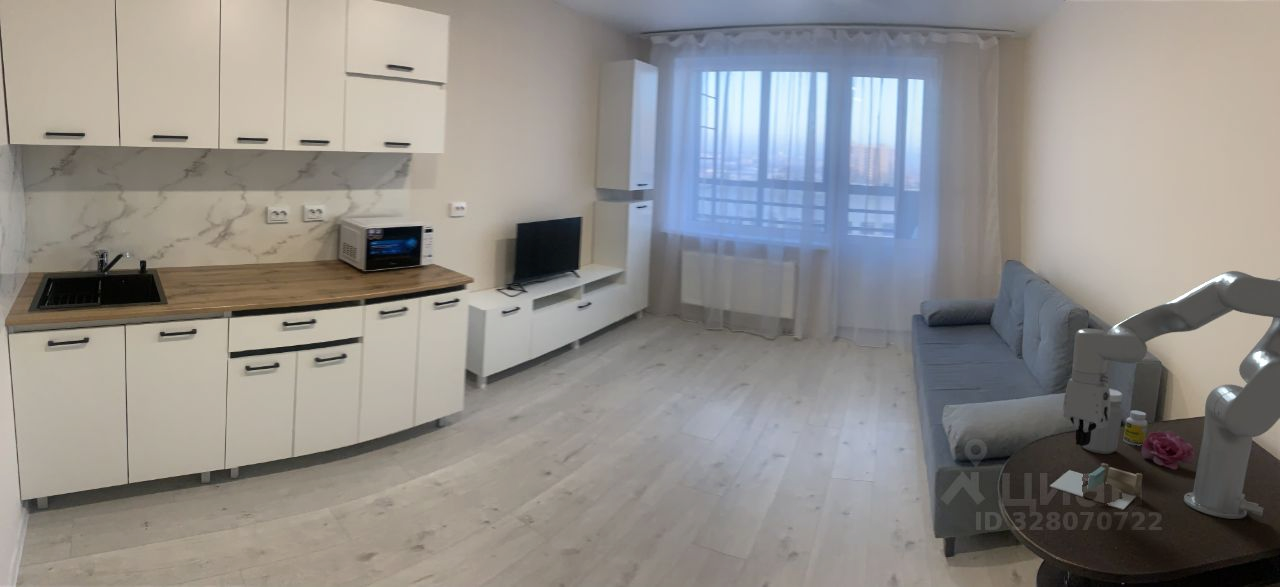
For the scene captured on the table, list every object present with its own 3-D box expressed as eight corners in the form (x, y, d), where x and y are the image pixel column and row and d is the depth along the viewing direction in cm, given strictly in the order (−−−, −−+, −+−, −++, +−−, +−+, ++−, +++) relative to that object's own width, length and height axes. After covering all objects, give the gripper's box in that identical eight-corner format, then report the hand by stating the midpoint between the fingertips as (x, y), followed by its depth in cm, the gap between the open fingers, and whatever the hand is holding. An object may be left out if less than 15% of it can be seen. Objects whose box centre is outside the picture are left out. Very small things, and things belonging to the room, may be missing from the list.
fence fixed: (1139, 496, 195) (1143, 474, 193) (1138, 497, 194) (1141, 476, 192) (1099, 483, 201) (1102, 462, 200) (1097, 485, 200) (1100, 464, 199)
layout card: (1140, 492, 197) (1140, 490, 197) (1123, 510, 187) (1123, 508, 187) (1069, 471, 209) (1069, 469, 209) (1049, 486, 199) (1050, 485, 199)
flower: (1179, 482, 211) (1165, 456, 209) (1146, 470, 221) (1133, 445, 218) (1206, 456, 213) (1193, 430, 211) (1172, 445, 223) (1159, 420, 220)
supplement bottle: (1119, 440, 232) (1123, 410, 230) (1130, 438, 234) (1135, 408, 232) (1136, 447, 227) (1141, 416, 225) (1148, 444, 229) (1153, 414, 228)
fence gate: (1097, 483, 200) (1100, 466, 199) (1103, 484, 199) (1106, 467, 198) (1085, 492, 194) (1088, 474, 193) (1091, 494, 193) (1094, 476, 192)
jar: (1070, 444, 228) (1079, 387, 225) (1094, 440, 232) (1102, 384, 228) (1100, 456, 219) (1109, 397, 216) (1124, 452, 223) (1133, 394, 219)
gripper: (1126, 381, 190) (1120, 450, 193) (1069, 368, 203) (1063, 432, 206) (1109, 386, 186) (1102, 456, 190) (1051, 372, 199) (1046, 438, 203)
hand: (1082, 444), depth 198 cm, fingers closed
